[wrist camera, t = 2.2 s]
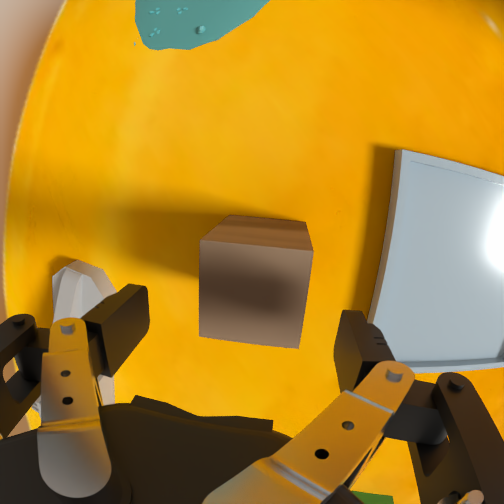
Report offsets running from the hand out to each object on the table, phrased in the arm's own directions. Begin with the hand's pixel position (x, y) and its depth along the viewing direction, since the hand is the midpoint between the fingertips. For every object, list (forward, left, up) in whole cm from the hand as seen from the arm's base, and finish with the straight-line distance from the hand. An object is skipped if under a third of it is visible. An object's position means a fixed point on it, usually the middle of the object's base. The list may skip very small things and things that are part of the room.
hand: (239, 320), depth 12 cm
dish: (0, +16, -9) cm, 19 cm away
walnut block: (0, 0, -9) cm, 9 cm away
